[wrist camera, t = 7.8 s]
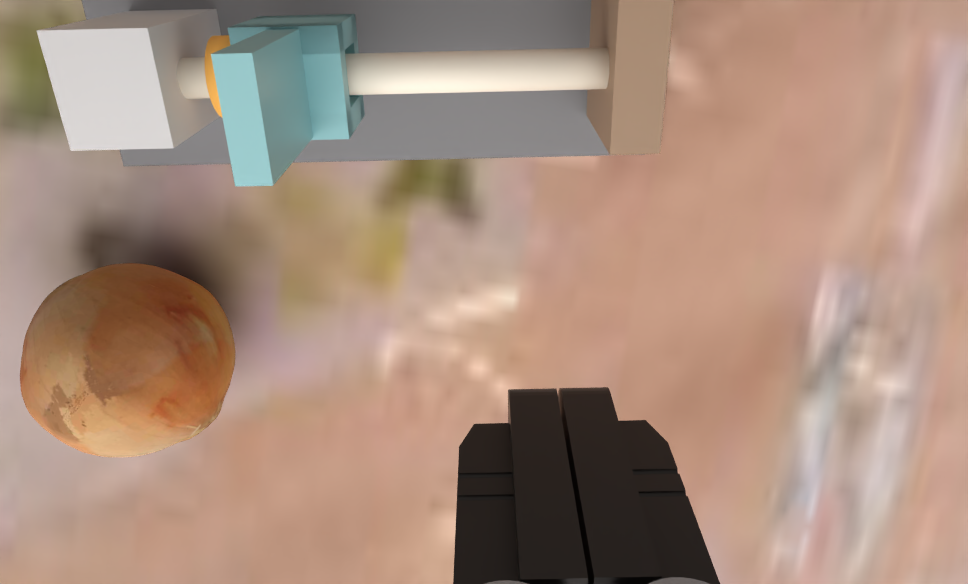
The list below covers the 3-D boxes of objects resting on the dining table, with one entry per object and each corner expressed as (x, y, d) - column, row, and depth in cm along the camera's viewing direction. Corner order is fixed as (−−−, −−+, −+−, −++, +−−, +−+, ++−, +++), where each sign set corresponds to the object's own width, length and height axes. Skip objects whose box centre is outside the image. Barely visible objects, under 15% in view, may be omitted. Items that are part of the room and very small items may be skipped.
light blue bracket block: (355, 13, 30) (299, 48, 21) (364, 115, 32) (317, 187, 23) (259, 16, 30) (161, 51, 21) (274, 116, 32) (191, 190, 23)
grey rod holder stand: (658, -71, 32) (713, -74, 24) (641, 149, 36) (683, 205, 29) (78, -57, 32) (-47, -55, 24) (132, 160, 37) (40, 219, 29)
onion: (213, 413, 44) (144, 536, 35) (55, 331, 41) (-64, 442, 32) (289, 298, 40) (234, 402, 31) (121, 200, 38) (9, 283, 29)
